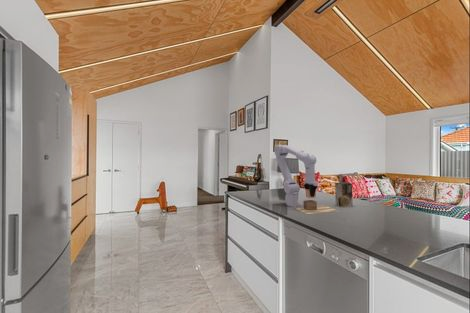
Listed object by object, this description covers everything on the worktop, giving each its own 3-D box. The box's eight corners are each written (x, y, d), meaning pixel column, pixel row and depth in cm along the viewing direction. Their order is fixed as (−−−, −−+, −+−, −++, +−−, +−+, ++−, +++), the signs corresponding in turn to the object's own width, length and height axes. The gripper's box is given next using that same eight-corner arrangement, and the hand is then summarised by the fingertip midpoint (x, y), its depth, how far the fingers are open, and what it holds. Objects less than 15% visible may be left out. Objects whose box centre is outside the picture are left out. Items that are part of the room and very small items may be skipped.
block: (305, 196, 158) (305, 189, 158) (312, 196, 158) (312, 188, 158) (309, 198, 153) (308, 190, 153) (315, 197, 154) (315, 189, 154)
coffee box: (349, 206, 165) (348, 182, 165) (352, 208, 159) (352, 183, 158) (335, 206, 166) (334, 182, 166) (338, 208, 160) (337, 183, 159)
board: (293, 209, 162) (293, 207, 162) (324, 206, 165) (324, 205, 165) (306, 215, 144) (306, 213, 144) (340, 212, 148) (340, 211, 148)
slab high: (303, 204, 158) (303, 200, 158) (312, 203, 159) (312, 200, 159) (307, 206, 153) (307, 202, 153) (316, 205, 154) (316, 201, 154)
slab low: (303, 208, 158) (303, 204, 158) (312, 207, 160) (312, 203, 159) (307, 210, 153) (307, 206, 153) (316, 209, 154) (316, 205, 154)
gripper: (321, 175, 149) (322, 197, 149) (310, 173, 164) (310, 193, 164) (311, 175, 148) (311, 198, 148) (300, 173, 162) (301, 194, 162)
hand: (310, 195), depth 156 cm, fingers closed on block, 4 cm apart
